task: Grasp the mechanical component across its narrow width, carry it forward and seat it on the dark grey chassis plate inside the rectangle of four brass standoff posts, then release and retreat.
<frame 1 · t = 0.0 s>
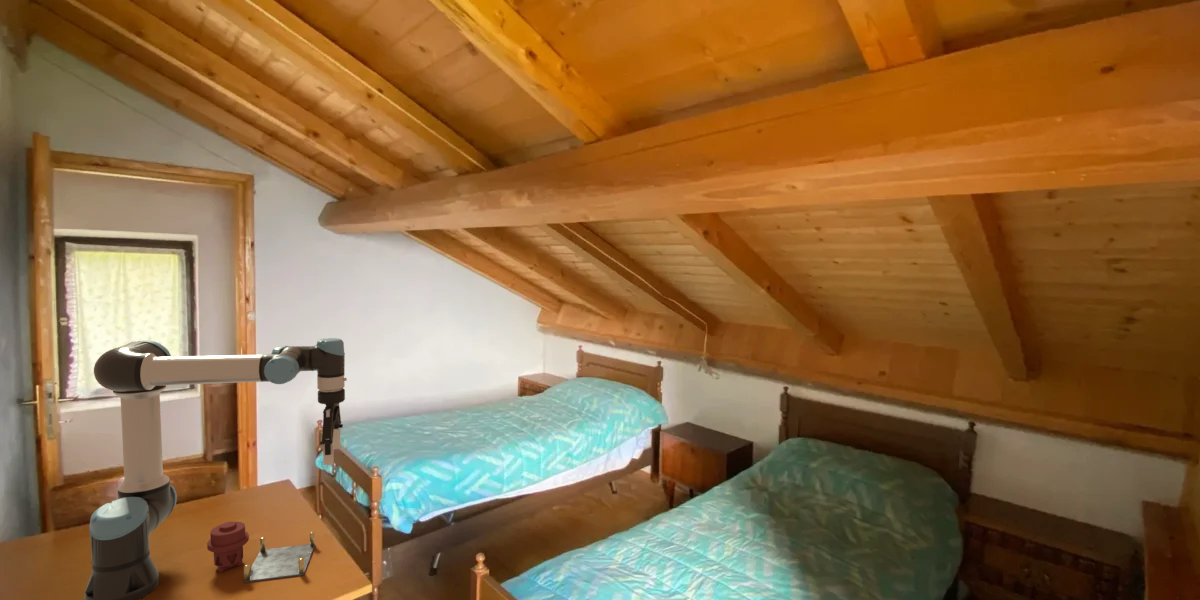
hand: (332, 456, 175), 28 cm above the table, fingers open, 13 cm apart
chassis: (281, 562, 165), on the table
mechanical component: (229, 566, 163), on the table
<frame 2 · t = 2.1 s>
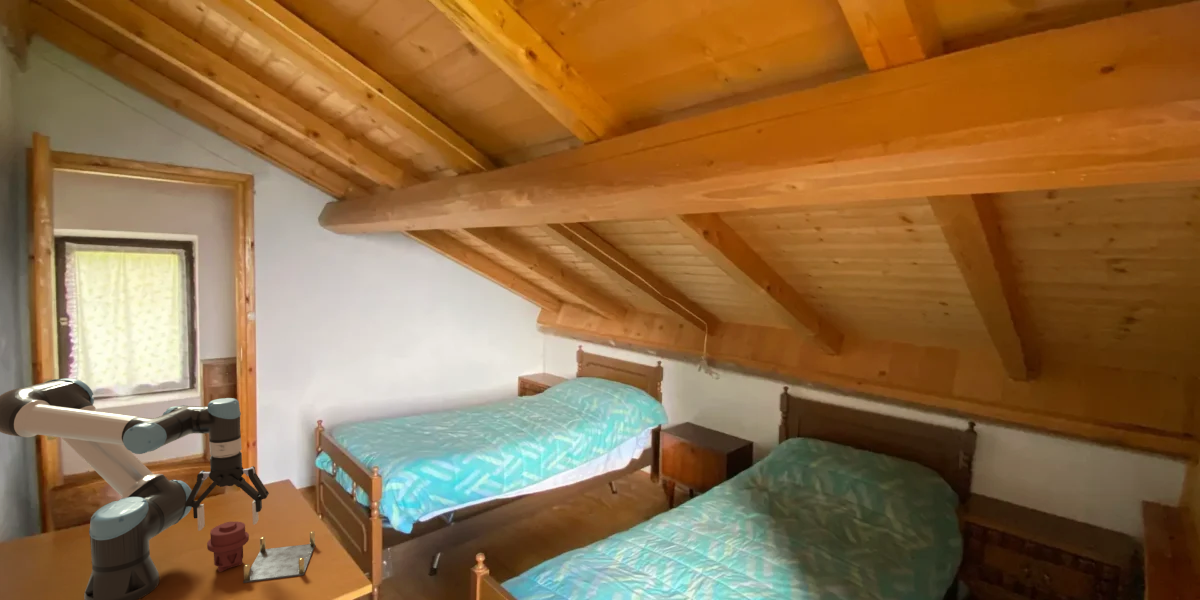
hand: (228, 525, 162), 12 cm above the table, fingers open, 13 cm apart
nothing on the table moved.
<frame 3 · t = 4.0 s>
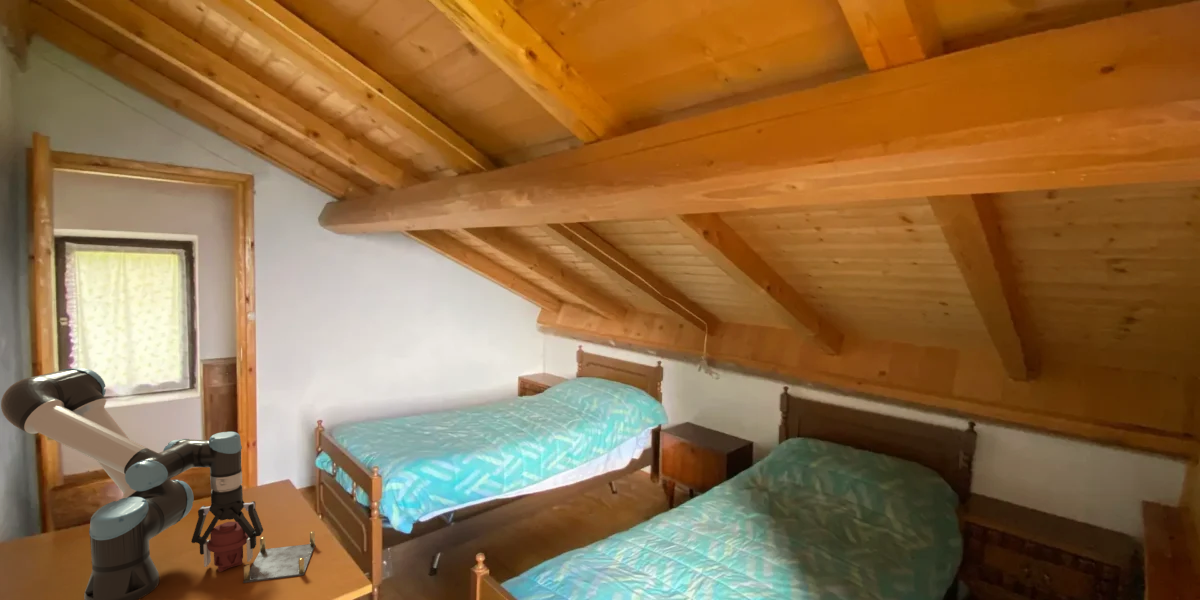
hand: (228, 561, 163), 1 cm above the table, fingers closed on mechanical component, 10 cm apart
mechanical component: (229, 566, 163), on the table, touching gripper
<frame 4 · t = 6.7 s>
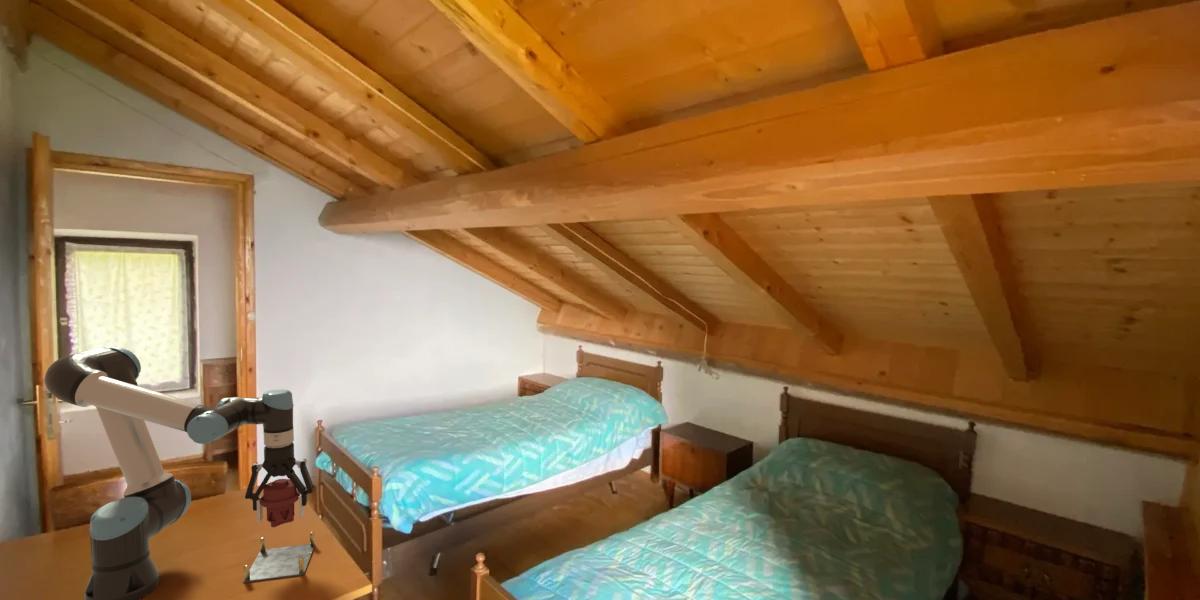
hand: (280, 518, 164), 14 cm above the table, fingers closed on mechanical component, 10 cm apart
mechanical component: (280, 522, 164), point 12 cm above the table, touching gripper
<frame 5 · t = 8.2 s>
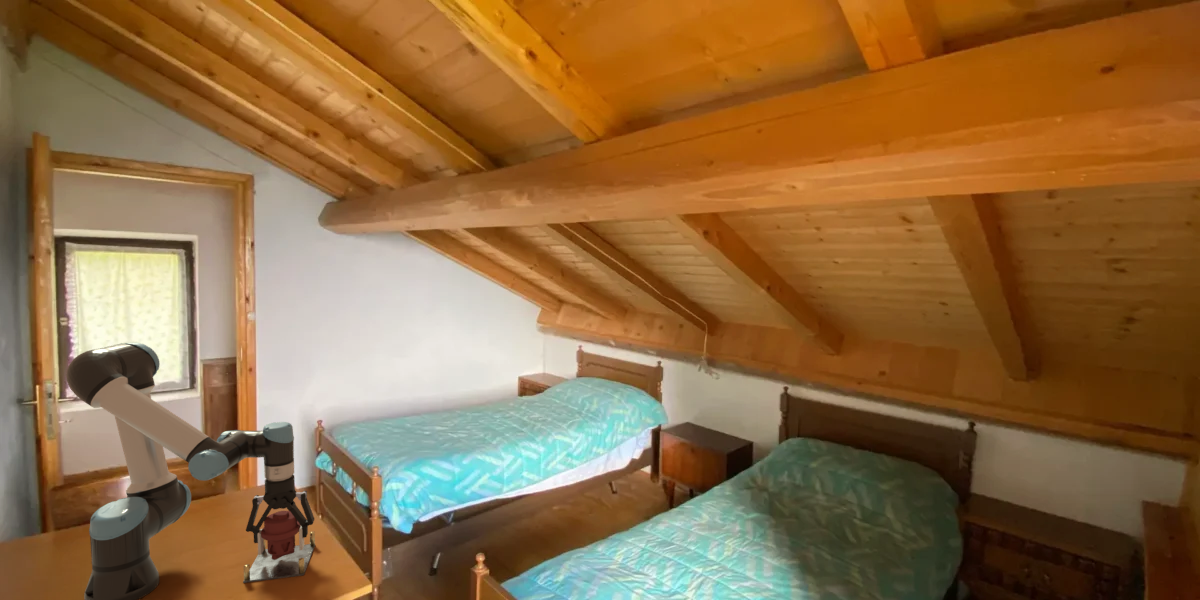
hand: (281, 550, 165), 4 cm above the table, fingers closed on mechanical component, 10 cm apart
mechanical component: (281, 554, 165), point 2 cm above the table, touching gripper
when the fingers open (3 cm above the table, at t = 9.4 s): mechanical component drops 1 cm, resting on chassis.
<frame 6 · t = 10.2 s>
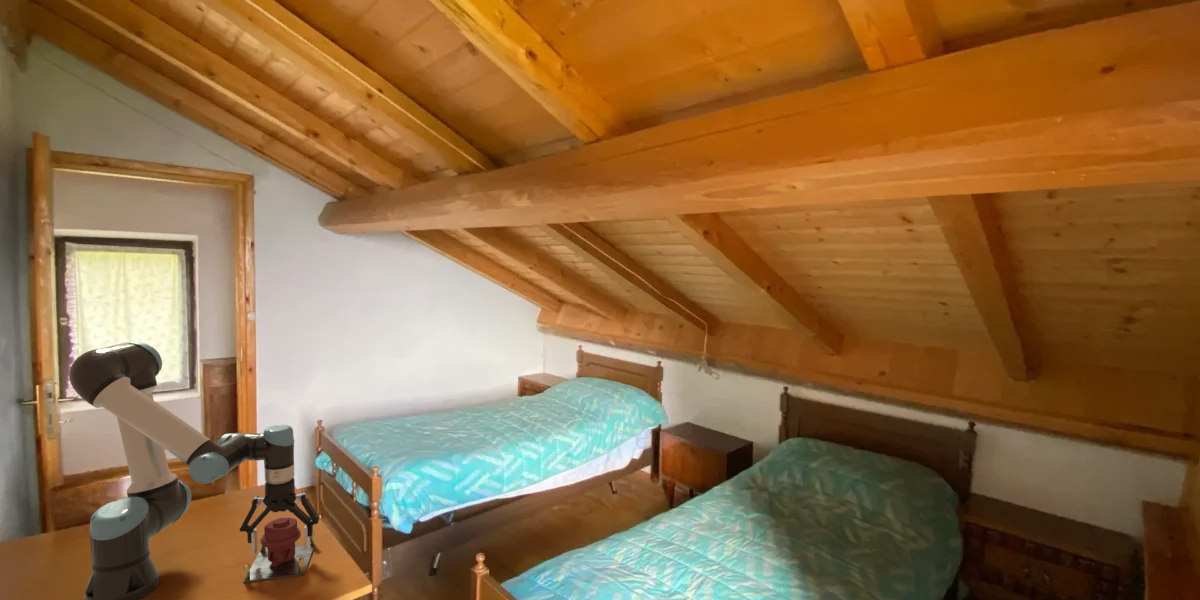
hand: (281, 549, 165), 4 cm above the table, fingers open, 13 cm apart
mechanical component: (281, 561, 165), resting on chassis
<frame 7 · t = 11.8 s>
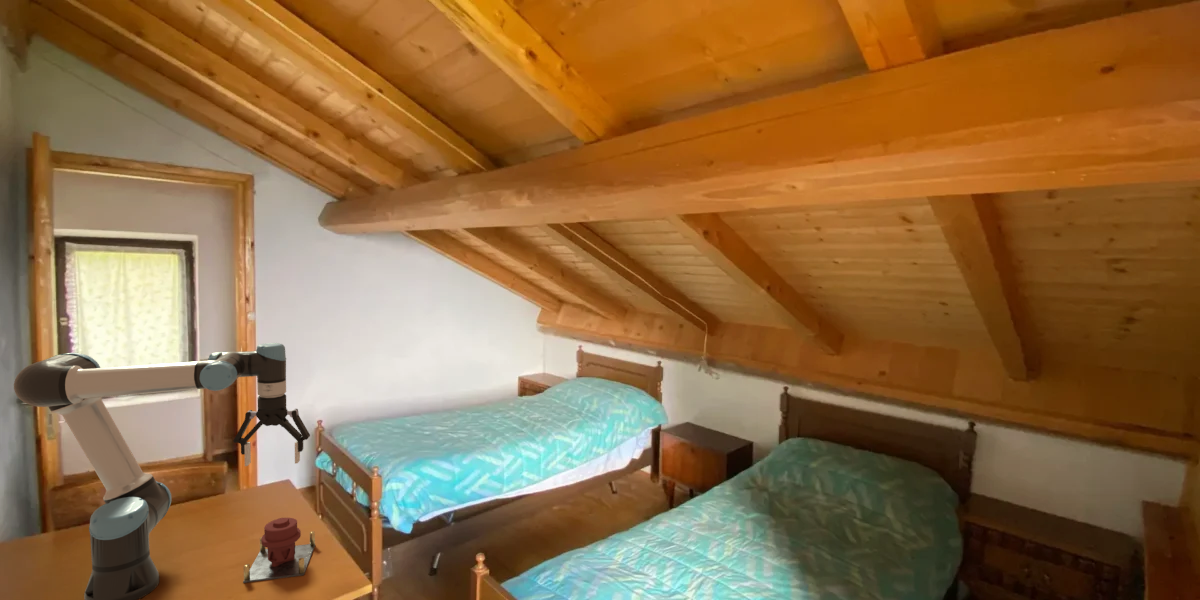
hand: (272, 463, 172), 26 cm above the table, fingers open, 13 cm apart
nothing on the table moved.
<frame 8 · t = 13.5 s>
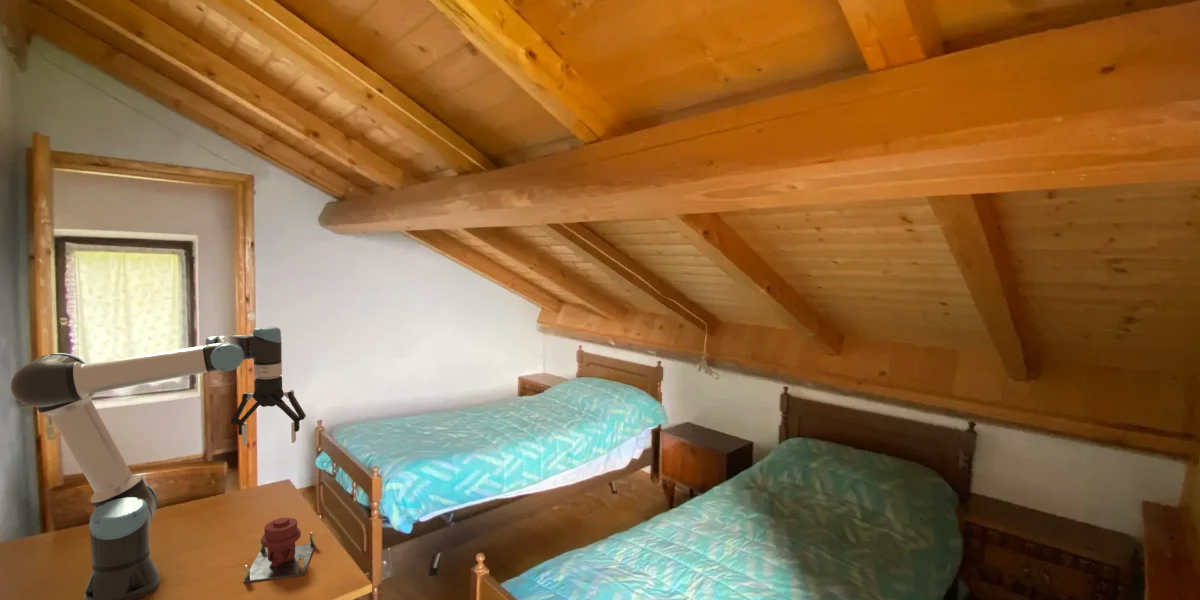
hand: (269, 443, 177), 31 cm above the table, fingers open, 13 cm apart
nothing on the table moved.
at the end: mechanical component 0.1 cm off-centre on the chassis, point 0.3 cm above the chassis's base; mechanical component tilted 0°; the gripper is holding nothing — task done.
